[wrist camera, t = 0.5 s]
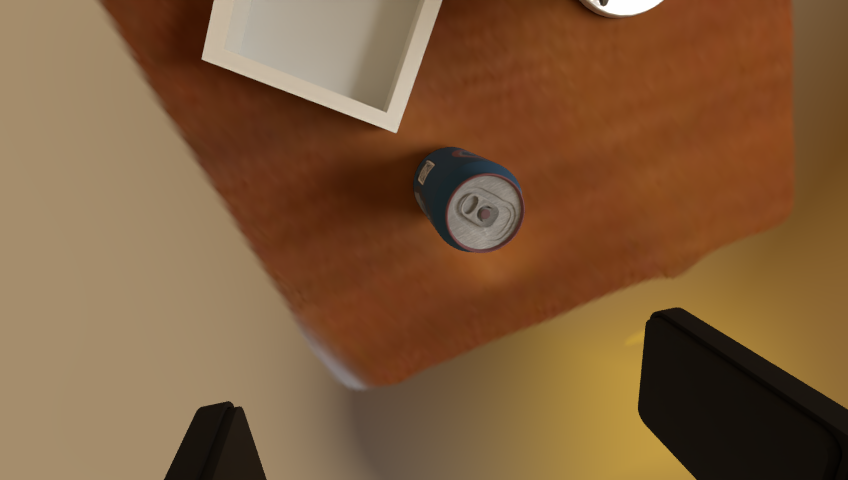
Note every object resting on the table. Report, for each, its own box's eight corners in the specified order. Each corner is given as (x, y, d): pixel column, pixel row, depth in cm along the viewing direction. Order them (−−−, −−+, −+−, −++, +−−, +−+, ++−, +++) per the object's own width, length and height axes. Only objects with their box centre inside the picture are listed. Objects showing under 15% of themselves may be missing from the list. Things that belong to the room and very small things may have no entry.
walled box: (267, -138, 29) (252, -183, 24) (448, -42, 33) (464, -66, 28) (222, 65, 33) (201, 59, 28) (389, 129, 36) (396, 133, 32)
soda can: (493, 169, 40) (552, 196, 28) (455, 228, 41) (496, 276, 30) (435, 131, 37) (474, 144, 26) (397, 194, 39) (418, 233, 27)
